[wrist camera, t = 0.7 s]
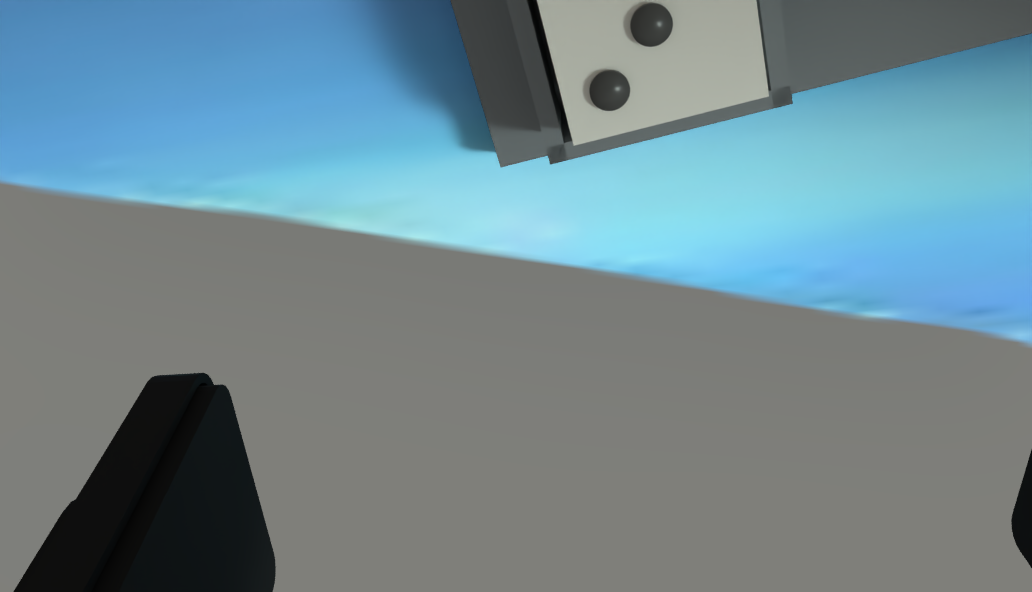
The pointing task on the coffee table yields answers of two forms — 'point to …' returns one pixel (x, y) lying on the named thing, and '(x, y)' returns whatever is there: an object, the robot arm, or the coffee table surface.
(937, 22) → the button board
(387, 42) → the coffee table surface
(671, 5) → the button three
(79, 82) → the coffee table surface
